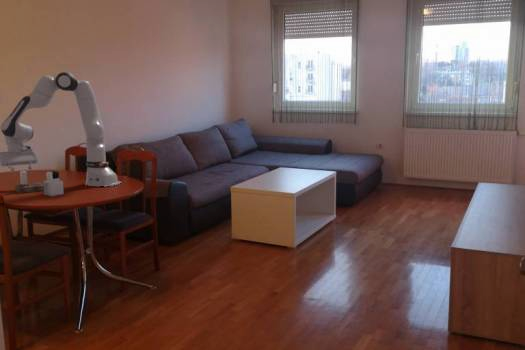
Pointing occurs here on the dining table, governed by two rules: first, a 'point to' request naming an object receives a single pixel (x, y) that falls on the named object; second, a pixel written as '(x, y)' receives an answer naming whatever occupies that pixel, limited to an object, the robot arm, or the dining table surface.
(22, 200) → the dining table surface
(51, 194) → the container
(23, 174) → the fader
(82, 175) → the dining table surface
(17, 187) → the mixing board
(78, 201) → the dining table surface
